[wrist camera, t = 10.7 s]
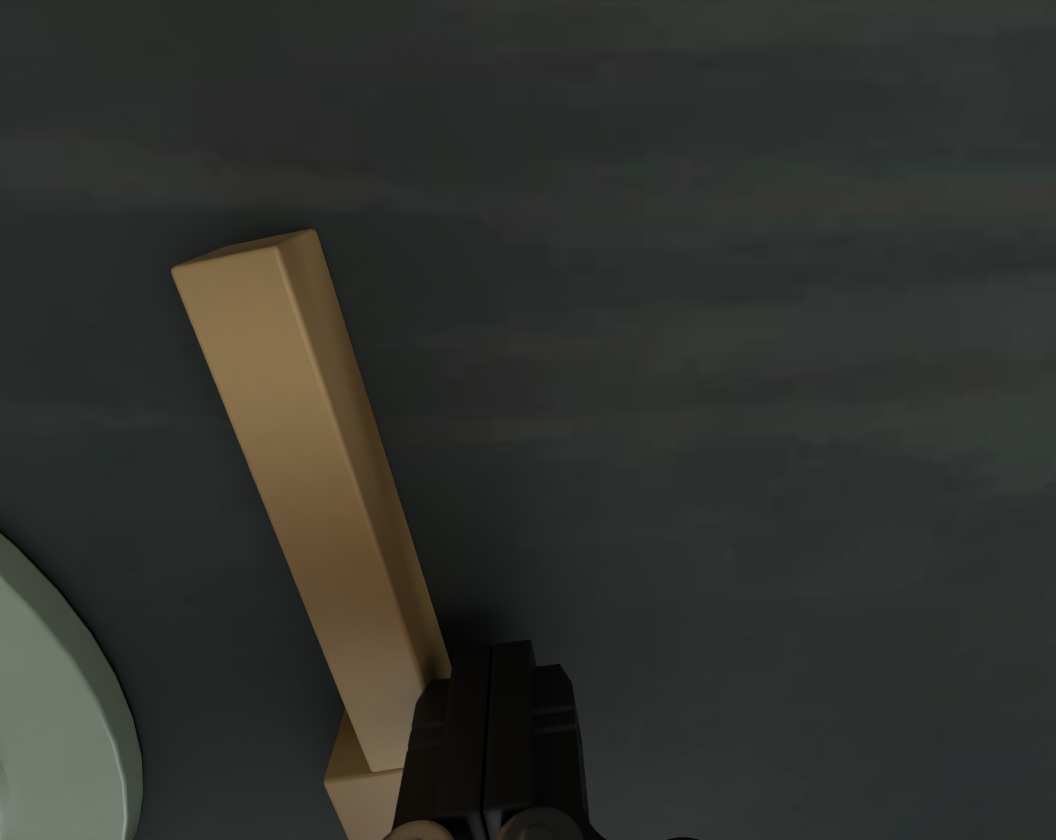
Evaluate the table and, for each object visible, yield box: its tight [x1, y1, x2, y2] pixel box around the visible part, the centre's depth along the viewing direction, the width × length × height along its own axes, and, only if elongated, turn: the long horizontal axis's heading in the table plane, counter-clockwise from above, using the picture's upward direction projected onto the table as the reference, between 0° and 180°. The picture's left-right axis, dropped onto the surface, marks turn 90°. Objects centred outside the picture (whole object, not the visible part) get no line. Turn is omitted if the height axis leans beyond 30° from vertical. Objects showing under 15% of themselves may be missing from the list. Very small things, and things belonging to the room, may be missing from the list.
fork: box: [171, 229, 452, 840], centre depth 14 cm, size 17×4×2 cm, turn 11°
